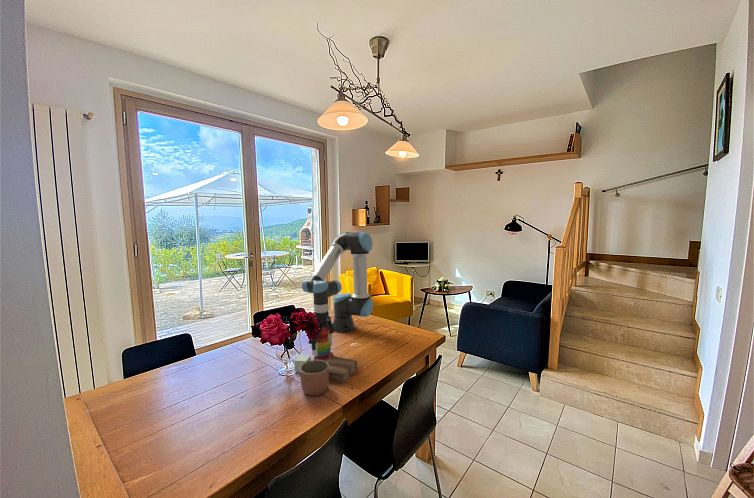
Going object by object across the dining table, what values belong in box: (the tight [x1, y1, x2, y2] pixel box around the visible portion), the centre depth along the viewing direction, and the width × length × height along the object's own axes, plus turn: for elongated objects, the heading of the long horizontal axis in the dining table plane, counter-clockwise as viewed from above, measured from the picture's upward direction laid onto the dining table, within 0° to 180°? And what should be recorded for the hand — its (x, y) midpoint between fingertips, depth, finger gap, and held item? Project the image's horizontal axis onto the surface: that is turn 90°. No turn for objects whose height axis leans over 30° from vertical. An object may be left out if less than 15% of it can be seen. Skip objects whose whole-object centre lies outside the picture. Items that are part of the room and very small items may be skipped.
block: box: [293, 354, 312, 374], centre depth 150 cm, size 6×6×6 cm
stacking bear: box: [313, 327, 335, 361], centre depth 160 cm, size 11×10×18 cm
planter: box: [299, 359, 330, 397], centre depth 132 cm, size 12×12×11 cm
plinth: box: [326, 355, 358, 385], centre depth 146 cm, size 14×14×5 cm
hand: (322, 350), depth 161 cm, fingers open, 13 cm apart
